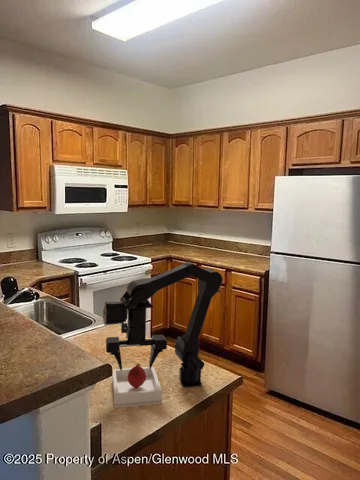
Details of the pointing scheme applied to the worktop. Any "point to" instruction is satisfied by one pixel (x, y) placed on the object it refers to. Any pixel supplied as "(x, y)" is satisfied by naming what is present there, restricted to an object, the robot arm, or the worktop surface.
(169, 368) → the worktop surface
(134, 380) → the onion
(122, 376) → the bin
